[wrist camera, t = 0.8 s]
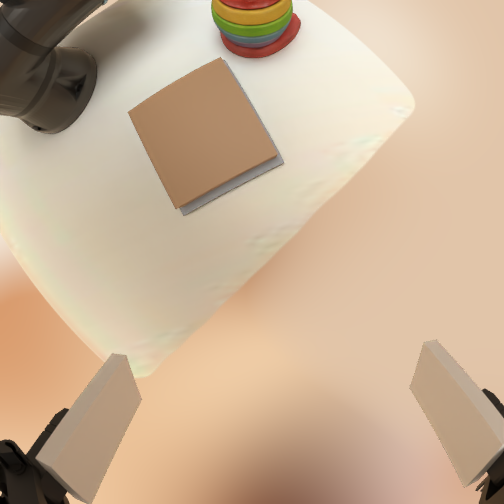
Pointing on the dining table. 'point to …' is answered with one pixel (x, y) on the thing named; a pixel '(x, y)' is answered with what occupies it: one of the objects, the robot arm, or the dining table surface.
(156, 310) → the dining table surface
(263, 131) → the board
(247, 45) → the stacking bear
